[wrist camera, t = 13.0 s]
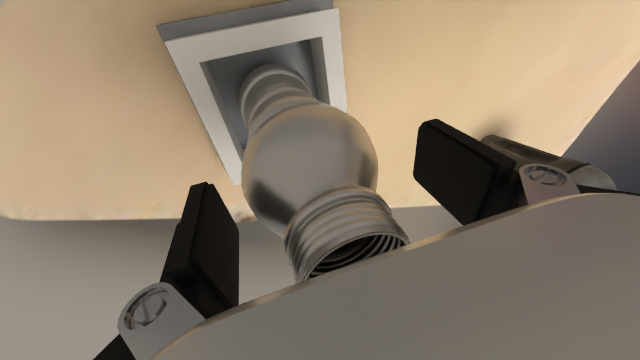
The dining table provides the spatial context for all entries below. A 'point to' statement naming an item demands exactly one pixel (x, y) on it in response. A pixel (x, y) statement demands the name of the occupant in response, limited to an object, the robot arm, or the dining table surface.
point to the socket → (254, 62)
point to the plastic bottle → (311, 175)
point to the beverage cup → (550, 162)
